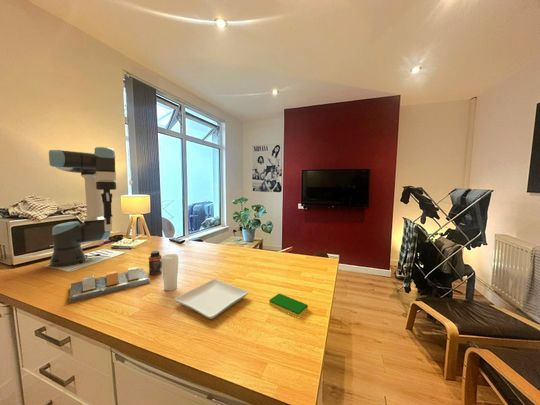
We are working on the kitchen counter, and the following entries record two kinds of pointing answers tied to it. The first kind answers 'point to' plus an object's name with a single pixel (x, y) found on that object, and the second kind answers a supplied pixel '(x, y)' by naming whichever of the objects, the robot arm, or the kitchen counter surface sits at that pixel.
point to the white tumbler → (170, 271)
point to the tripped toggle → (112, 278)
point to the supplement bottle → (155, 263)
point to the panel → (99, 285)
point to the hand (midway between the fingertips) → (108, 230)
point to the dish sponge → (288, 305)
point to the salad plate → (211, 298)
